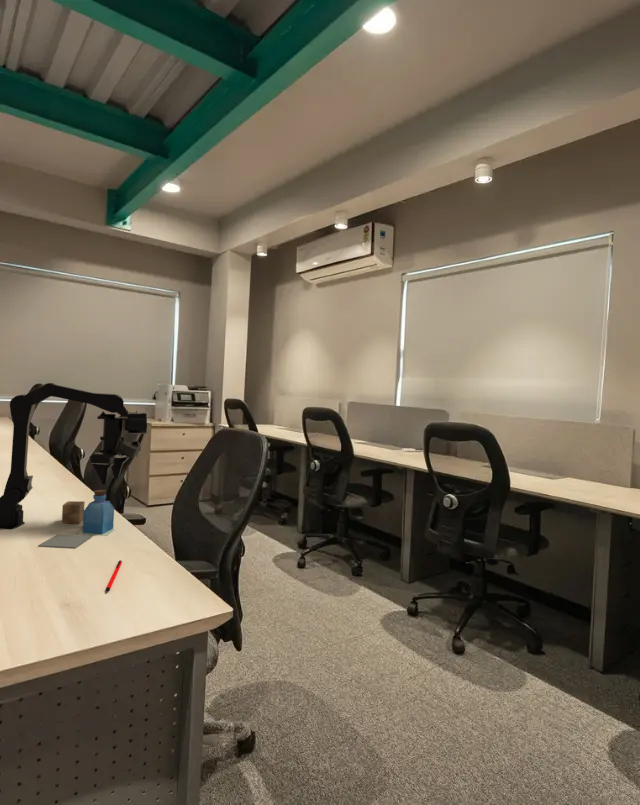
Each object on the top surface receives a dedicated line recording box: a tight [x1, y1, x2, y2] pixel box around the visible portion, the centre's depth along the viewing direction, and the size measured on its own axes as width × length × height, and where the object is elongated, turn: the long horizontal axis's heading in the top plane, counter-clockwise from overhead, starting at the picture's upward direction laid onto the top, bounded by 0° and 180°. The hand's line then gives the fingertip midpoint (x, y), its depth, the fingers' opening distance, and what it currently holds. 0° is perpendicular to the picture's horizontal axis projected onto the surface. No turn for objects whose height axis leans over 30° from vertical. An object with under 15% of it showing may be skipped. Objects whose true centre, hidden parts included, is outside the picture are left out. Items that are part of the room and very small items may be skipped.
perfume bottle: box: [82, 489, 115, 534], centre depth 147 cm, size 6×6×12 cm
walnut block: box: [61, 500, 86, 525], centre depth 154 cm, size 5×5×6 cm
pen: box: [105, 560, 123, 593], centre depth 115 cm, size 1×19×1 cm, turn 14°
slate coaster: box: [37, 533, 93, 549], centre depth 136 cm, size 10×10×1 cm
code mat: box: [76, 528, 115, 537], centre depth 147 cm, size 9×9×1 cm
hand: (110, 481), depth 157 cm, fingers open, 9 cm apart
